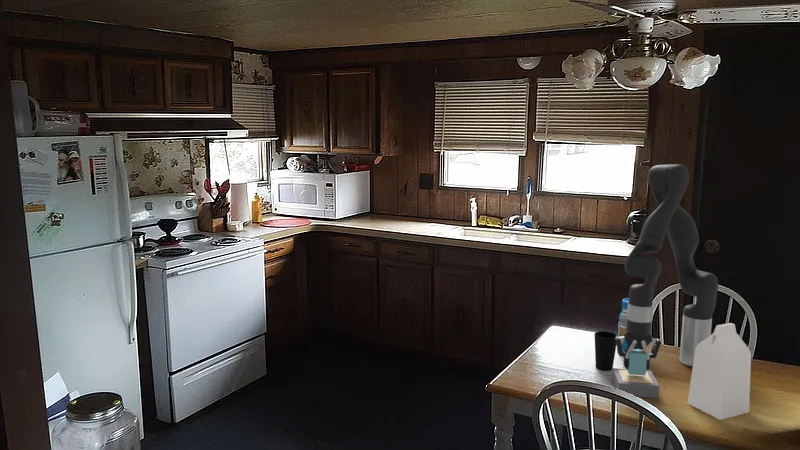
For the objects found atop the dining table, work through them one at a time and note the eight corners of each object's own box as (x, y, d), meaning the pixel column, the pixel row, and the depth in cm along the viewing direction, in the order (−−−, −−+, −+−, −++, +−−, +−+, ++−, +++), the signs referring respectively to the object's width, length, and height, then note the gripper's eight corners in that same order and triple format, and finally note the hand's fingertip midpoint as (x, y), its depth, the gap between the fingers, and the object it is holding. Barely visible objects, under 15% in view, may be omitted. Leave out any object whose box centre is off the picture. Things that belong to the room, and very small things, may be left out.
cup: (617, 372, 214) (619, 339, 212) (593, 371, 216) (595, 337, 214) (614, 364, 222) (616, 331, 220) (591, 362, 223) (593, 330, 221)
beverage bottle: (614, 348, 237) (617, 296, 234) (637, 349, 236) (641, 297, 233) (618, 356, 229) (622, 303, 226) (643, 357, 228) (646, 304, 225)
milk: (719, 420, 181) (728, 333, 177) (687, 403, 192) (694, 321, 187) (749, 412, 186) (757, 328, 182) (715, 396, 197) (723, 316, 192)
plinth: (649, 382, 207) (650, 370, 206) (658, 398, 195) (659, 385, 195) (611, 379, 209) (612, 367, 208) (618, 395, 197) (619, 382, 197)
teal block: (642, 369, 203) (643, 348, 202) (645, 375, 198) (647, 354, 197) (626, 368, 204) (627, 347, 203) (629, 374, 199) (630, 353, 198)
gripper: (660, 315, 201) (656, 366, 204) (613, 313, 203) (610, 363, 206) (666, 322, 193) (662, 375, 196) (617, 320, 196) (614, 372, 199)
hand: (635, 368), depth 201 cm, fingers closed on teal block, 4 cm apart
